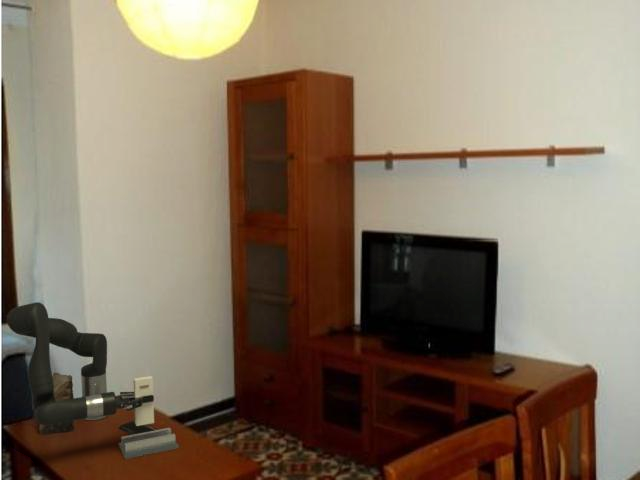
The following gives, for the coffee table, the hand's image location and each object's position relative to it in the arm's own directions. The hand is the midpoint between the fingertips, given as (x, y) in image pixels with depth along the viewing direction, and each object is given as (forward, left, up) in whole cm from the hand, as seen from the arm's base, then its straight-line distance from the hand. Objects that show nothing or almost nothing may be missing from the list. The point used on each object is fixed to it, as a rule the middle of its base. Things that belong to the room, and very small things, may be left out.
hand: (152, 396), depth 216 cm
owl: (-33, -29, -18) cm, 47 cm away
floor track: (0, -2, -18) cm, 18 cm away
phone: (-17, -2, -18) cm, 25 cm away
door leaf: (0, -3, -9) cm, 9 cm away
